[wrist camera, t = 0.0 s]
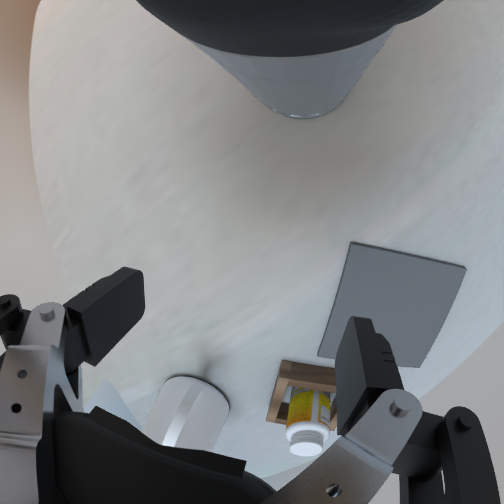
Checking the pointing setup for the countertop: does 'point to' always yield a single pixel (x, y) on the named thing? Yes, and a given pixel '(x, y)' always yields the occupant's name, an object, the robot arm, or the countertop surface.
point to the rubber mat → (393, 300)
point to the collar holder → (301, 378)
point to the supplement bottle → (308, 421)
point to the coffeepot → (187, 414)
